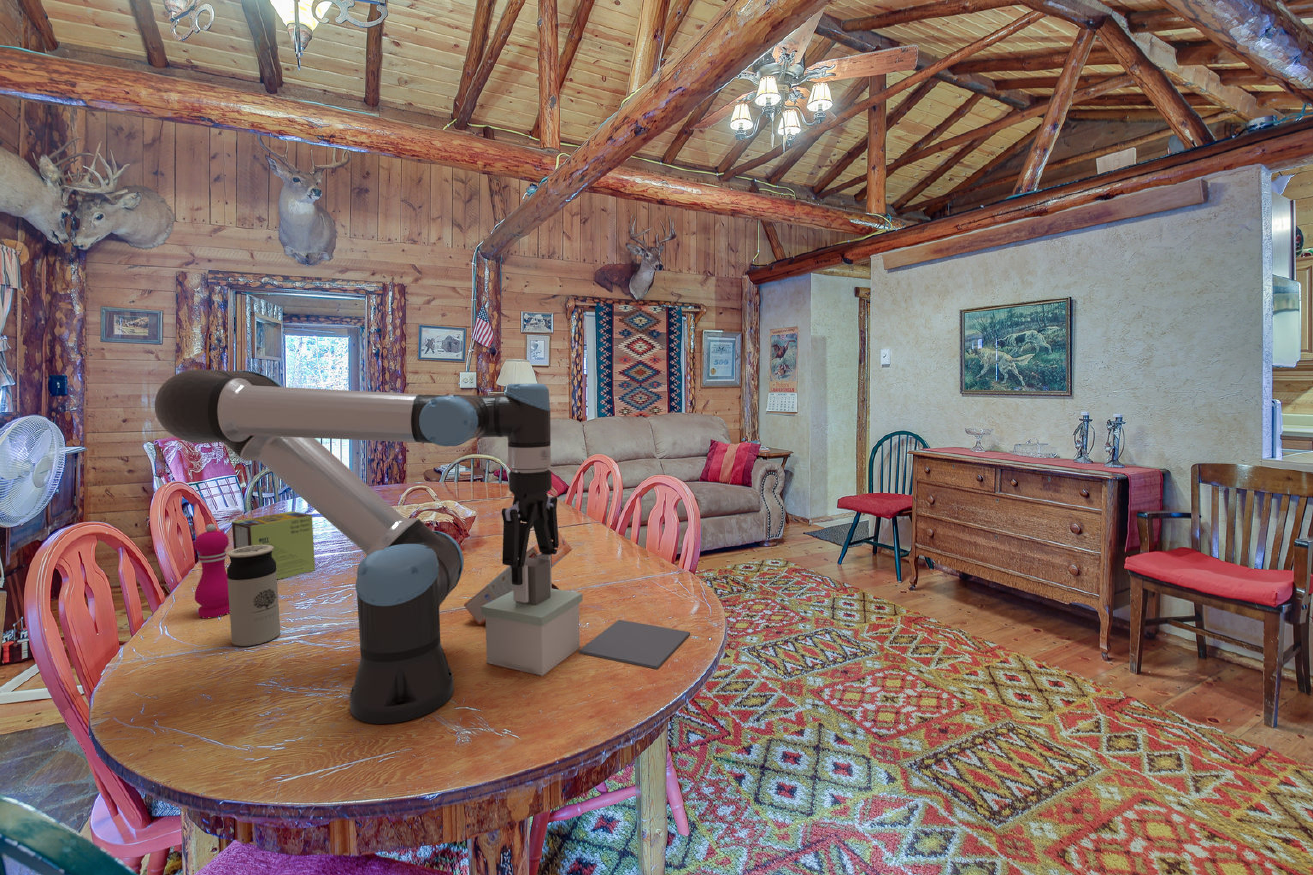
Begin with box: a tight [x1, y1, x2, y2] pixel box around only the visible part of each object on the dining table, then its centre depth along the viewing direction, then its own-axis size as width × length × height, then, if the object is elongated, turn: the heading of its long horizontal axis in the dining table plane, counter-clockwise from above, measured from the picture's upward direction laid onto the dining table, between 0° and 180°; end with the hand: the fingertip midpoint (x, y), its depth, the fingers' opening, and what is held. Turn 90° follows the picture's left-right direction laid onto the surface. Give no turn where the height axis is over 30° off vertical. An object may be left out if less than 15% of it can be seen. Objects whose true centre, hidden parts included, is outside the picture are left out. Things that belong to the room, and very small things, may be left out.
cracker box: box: [463, 531, 573, 626], centre depth 127 cm, size 14×6×21 cm
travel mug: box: [226, 545, 281, 647], centre depth 116 cm, size 8×8×18 cm
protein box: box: [231, 510, 316, 580], centre depth 157 cm, size 10×15×16 cm
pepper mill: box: [194, 523, 230, 619], centre depth 130 cm, size 7×7×20 cm
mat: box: [578, 619, 691, 670], centre depth 114 cm, size 16×16×1 cm
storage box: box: [485, 603, 581, 677], centre depth 109 cm, size 12×12×9 cm
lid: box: [481, 558, 583, 626], centre depth 108 cm, size 13×13×10 cm
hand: (533, 594), depth 108 cm, fingers open, 6 cm apart
